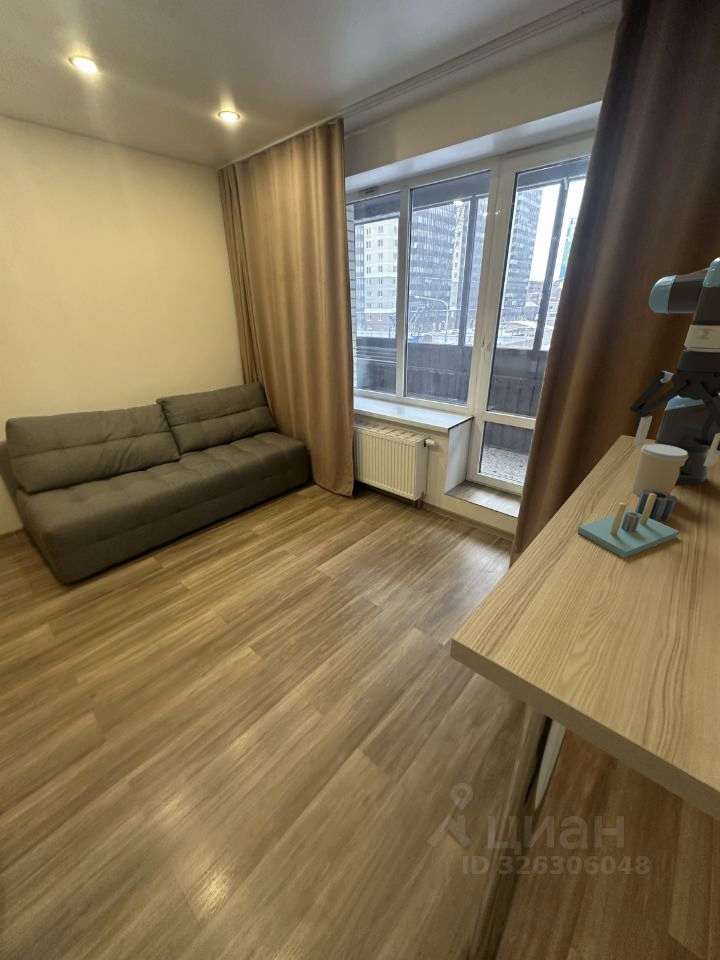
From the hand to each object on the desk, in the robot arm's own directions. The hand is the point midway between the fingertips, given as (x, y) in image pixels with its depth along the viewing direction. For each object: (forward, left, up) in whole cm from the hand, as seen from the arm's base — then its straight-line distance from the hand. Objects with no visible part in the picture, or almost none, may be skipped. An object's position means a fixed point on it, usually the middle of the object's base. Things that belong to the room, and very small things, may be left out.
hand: (671, 454), depth 80 cm
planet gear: (-1, 0, -15) cm, 15 cm away
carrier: (+13, +3, -15) cm, 20 cm away
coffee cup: (-12, -7, -15) cm, 21 cm away
